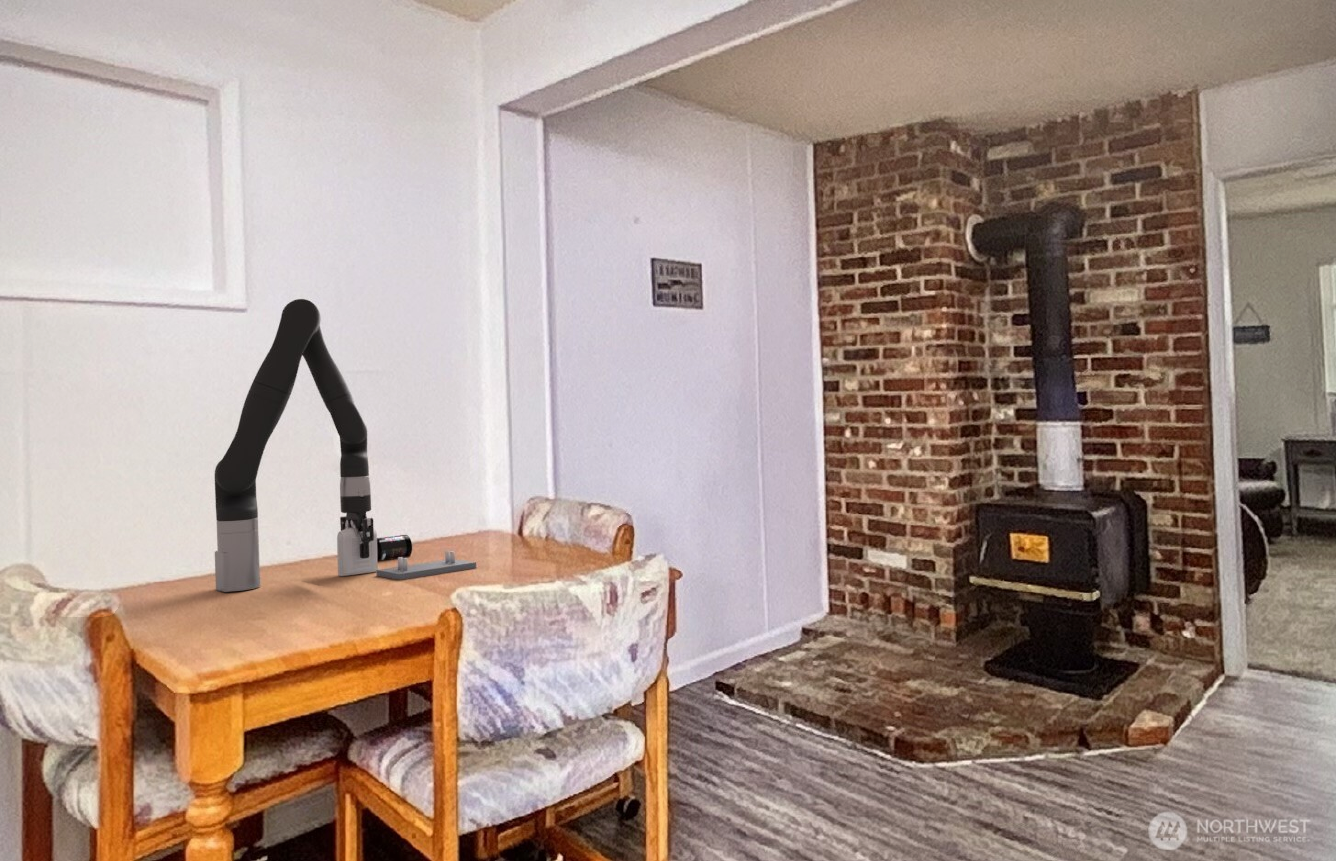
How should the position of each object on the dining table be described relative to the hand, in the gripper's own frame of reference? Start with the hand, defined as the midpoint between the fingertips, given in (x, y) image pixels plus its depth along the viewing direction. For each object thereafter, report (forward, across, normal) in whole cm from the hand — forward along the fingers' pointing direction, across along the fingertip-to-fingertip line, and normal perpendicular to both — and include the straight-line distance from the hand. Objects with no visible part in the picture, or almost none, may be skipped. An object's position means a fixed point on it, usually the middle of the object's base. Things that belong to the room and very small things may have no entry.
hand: (357, 556), depth 227 cm
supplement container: (+2, -14, +13) cm, 19 cm away
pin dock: (+4, +14, +12) cm, 19 cm away
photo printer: (+5, 0, 0) cm, 5 cm away
